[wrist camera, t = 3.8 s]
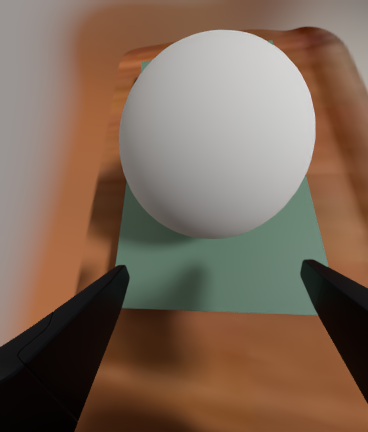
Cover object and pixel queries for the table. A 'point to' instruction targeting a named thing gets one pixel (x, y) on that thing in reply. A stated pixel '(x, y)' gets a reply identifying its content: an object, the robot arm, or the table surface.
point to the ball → (217, 134)
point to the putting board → (221, 262)
